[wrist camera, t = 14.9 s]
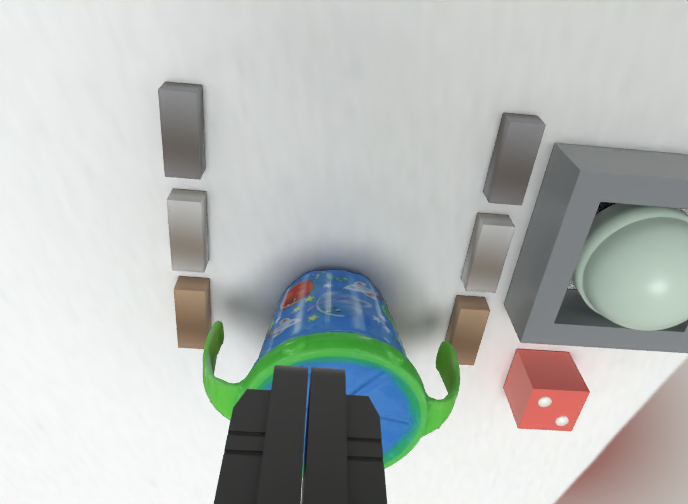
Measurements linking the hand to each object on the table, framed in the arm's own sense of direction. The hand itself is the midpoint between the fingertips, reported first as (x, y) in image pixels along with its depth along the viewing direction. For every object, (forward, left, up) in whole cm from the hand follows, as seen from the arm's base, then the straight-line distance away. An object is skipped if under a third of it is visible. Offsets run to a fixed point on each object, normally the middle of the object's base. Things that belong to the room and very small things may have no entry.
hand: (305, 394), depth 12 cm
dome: (+8, +20, -22) cm, 31 cm away
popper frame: (+8, +20, -23) cm, 31 cm away
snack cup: (+15, +2, -23) cm, 27 cm away
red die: (+20, +18, -23) cm, 35 cm away
